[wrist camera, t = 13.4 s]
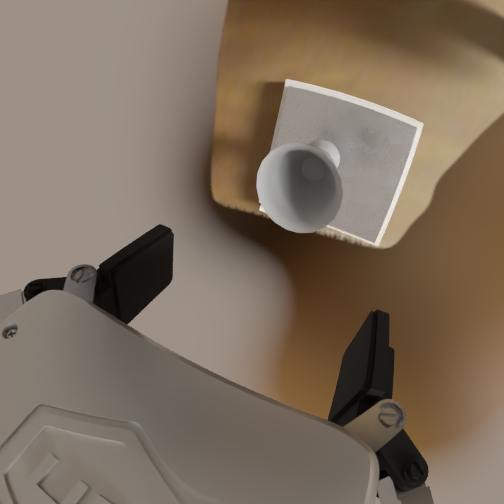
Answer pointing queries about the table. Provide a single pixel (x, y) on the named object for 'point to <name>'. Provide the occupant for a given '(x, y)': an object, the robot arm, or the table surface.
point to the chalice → (301, 185)
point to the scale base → (367, 105)
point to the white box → (352, 153)
